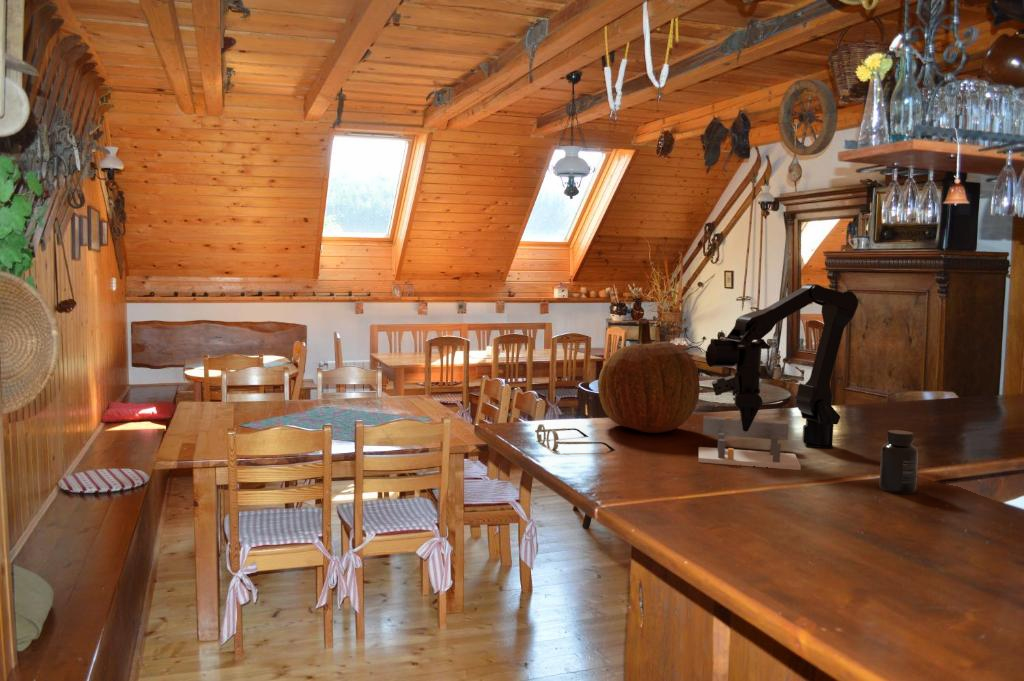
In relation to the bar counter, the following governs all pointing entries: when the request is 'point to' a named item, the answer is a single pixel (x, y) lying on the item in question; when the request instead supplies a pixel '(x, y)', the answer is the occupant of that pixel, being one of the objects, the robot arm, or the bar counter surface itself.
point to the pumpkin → (649, 384)
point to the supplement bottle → (899, 463)
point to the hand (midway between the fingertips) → (744, 429)
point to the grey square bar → (735, 428)
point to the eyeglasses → (558, 438)
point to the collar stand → (749, 456)
